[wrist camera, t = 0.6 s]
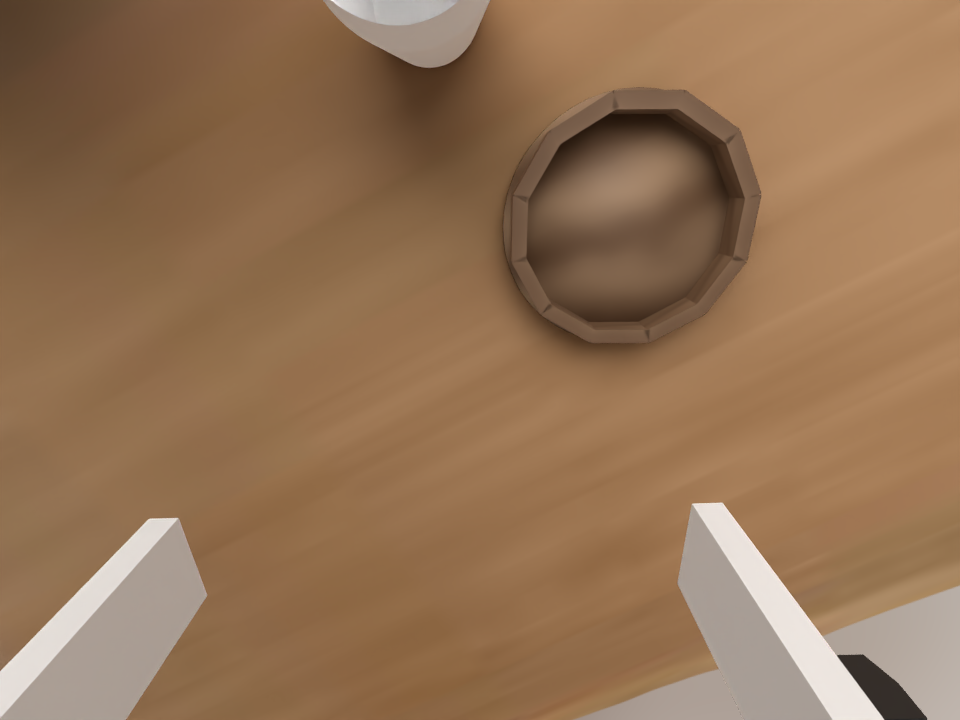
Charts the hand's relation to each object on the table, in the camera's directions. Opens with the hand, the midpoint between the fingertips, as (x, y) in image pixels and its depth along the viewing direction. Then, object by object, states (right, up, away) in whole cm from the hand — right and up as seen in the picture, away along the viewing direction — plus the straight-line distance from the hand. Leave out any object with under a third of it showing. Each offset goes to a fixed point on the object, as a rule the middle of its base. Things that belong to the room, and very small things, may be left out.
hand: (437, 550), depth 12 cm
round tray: (+11, +15, +20) cm, 28 cm away
